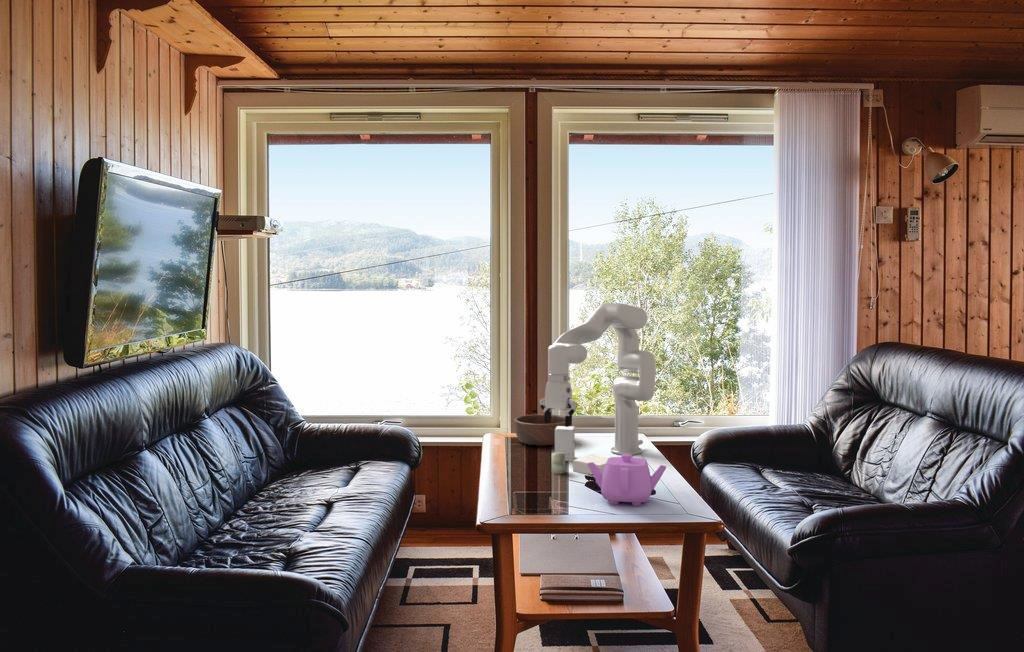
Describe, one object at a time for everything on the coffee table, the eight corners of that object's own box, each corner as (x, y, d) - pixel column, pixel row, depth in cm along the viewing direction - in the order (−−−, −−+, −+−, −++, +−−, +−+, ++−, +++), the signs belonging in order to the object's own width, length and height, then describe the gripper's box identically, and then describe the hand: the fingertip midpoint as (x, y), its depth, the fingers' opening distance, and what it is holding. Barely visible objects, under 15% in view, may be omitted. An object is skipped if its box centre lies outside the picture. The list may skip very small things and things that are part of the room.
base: (591, 464, 287) (591, 454, 287) (618, 470, 279) (618, 459, 279) (573, 470, 278) (573, 460, 278) (599, 476, 270) (599, 465, 270)
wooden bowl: (518, 435, 344) (517, 413, 343) (572, 436, 340) (572, 414, 340) (510, 447, 319) (510, 423, 318) (568, 449, 316) (568, 424, 315)
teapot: (668, 502, 238) (668, 455, 237) (626, 513, 227) (626, 464, 226) (626, 489, 253) (626, 445, 253) (585, 498, 243) (585, 452, 242)
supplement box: (572, 461, 293) (572, 429, 292) (554, 460, 294) (554, 429, 294) (575, 457, 300) (575, 426, 300) (556, 456, 302) (556, 425, 301)
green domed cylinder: (557, 469, 280) (557, 451, 280) (567, 472, 277) (567, 453, 276) (548, 472, 276) (548, 453, 276) (559, 474, 273) (559, 455, 273)
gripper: (583, 379, 272) (582, 426, 272) (546, 375, 283) (546, 420, 284) (570, 381, 266) (570, 429, 267) (533, 377, 278) (533, 423, 278)
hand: (557, 424), depth 275 cm, fingers open, 9 cm apart
